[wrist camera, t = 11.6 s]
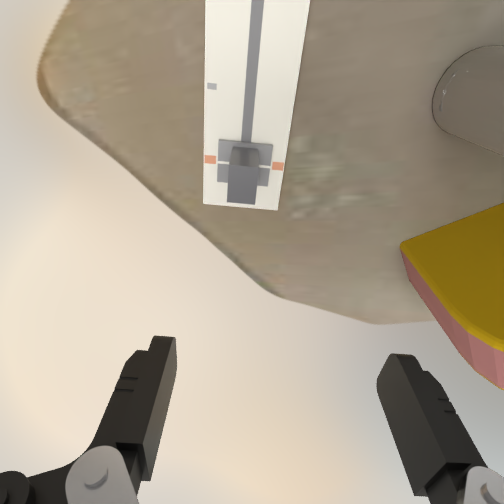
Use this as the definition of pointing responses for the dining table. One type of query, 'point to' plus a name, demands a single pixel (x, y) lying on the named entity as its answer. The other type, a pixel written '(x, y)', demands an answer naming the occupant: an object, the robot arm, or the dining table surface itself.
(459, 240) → the lunch box
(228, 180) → the fader tab
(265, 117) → the fader console
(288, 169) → the dining table surface
